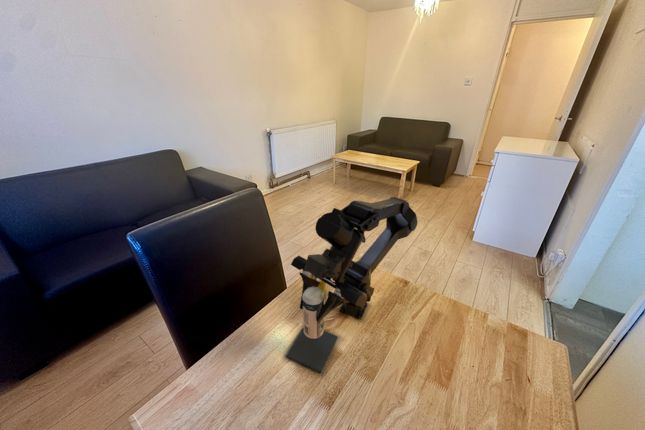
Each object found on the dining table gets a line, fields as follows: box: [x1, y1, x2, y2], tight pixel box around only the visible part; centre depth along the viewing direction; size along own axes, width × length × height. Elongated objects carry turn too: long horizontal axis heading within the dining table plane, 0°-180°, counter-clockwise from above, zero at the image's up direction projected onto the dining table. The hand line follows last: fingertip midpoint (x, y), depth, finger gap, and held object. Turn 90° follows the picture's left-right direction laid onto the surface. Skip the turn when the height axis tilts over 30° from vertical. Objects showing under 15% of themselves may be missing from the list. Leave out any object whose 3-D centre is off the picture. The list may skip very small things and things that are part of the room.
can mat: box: [285, 327, 339, 374], centre depth 63 cm, size 10×9×1 cm
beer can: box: [301, 286, 325, 339], centre depth 58 cm, size 5×5×12 cm
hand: (309, 314), depth 57 cm, fingers closed on beer can, 5 cm apart
